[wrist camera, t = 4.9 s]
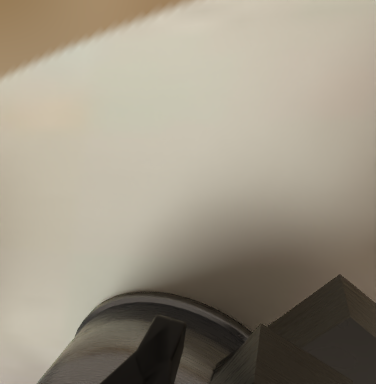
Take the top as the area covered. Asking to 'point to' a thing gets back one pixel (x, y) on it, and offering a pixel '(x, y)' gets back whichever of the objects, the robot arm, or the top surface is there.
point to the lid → (275, 363)
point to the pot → (222, 335)
